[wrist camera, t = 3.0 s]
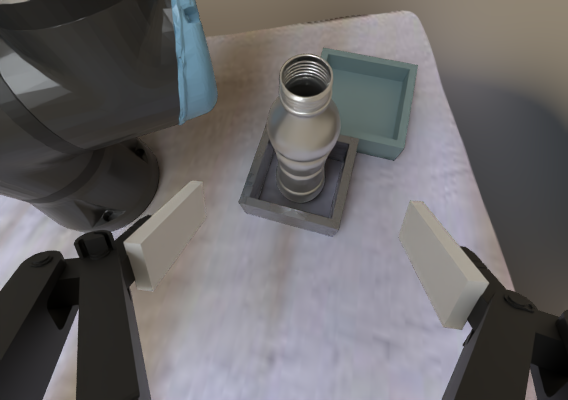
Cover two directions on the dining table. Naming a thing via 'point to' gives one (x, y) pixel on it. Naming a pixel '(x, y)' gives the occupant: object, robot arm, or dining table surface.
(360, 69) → the tray
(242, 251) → the dining table surface
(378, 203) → the dining table surface
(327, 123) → the metal bottle
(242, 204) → the holder sleeve
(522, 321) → the robot arm
